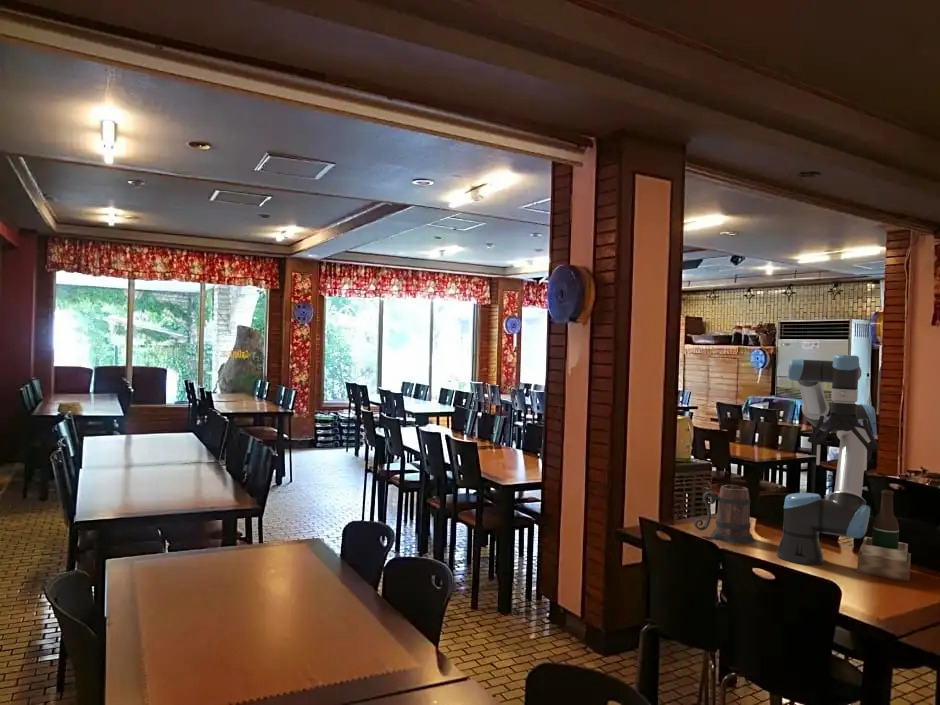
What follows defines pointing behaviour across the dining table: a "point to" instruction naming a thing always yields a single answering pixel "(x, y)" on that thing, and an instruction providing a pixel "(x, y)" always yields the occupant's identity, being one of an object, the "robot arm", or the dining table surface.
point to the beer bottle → (886, 524)
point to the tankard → (730, 515)
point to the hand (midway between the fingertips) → (841, 467)
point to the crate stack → (884, 561)
